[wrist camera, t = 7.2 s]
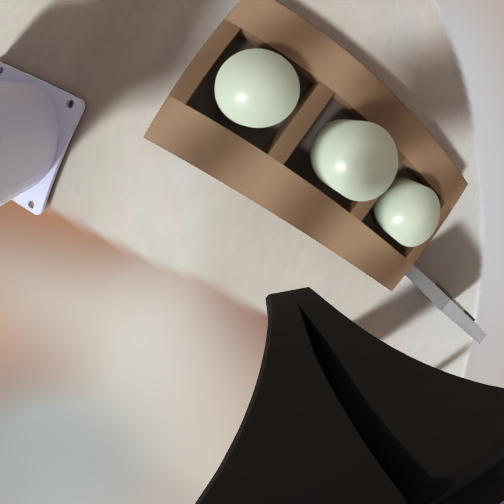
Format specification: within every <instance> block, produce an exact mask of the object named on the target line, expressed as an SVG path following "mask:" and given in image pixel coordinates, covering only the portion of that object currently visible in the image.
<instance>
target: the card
mask: <svg viewBox="0 0 504 504" xmlns="http://www.w3.org/2000/svg"><path fill="white" fill-rule="evenodd" d="M405 275H406V276H407V277H408V278H409V279H410V280H411V281H412V282H413V283H414V284H415V285H416V286H417V287H418V288H419V289H420V290H421V291H422V292H423V293H424V294H425V295H426V296H427V297H428V298H429V299H430V300H431V301H432V302H433V303H434V304H435V305H436V306H437V307H438V308H439V309H440V310H441V311H442V312H443V313H444V314H445V315H446V316H448V317H449V318H450V319H451V320H452V321H454V322H455V323H456V324H457V325H458V326H460V327H461V328H462V329H463V330H464V331H465V332H467V333H468V334H469V335H470V336H471V337H472V338H473V339H475V340H476V341H477V342H478V343H480V342H481V341H482V340H483V339H484V338H485V336H486V334H485V333H484V332H483V331H482V330H481V329H480V328H479V326H478V325H477V324H476V323H475V322H474V320H475V319H474V318H473V317H472V316H471V315H470V314H469V313H468V312H467V311H466V310H465V309H464V308H463V307H462V306H461V305H460V304H459V303H458V302H457V301H456V300H455V299H454V298H453V297H452V296H451V295H450V294H449V293H448V292H447V291H445V290H444V289H443V288H442V287H441V286H440V285H439V284H438V283H436V284H434V283H433V282H432V281H431V280H430V279H429V278H428V277H427V276H426V275H425V274H423V273H422V272H421V271H420V270H419V269H418V268H417V267H415V266H414V265H412V267H411V268H410V269H409V270H408V272H407V273H406V274H405Z"/></svg>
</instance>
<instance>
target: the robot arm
mask: <svg viewBox="0 0 504 504" xmlns="http://www.w3.org/2000/svg"><path fill="white" fill-rule="evenodd" d="M2 68H3V72H2V73H1V70H2ZM71 100H73V102H74V104H73V107H72V108H70V107H69V103H70V101H71ZM85 107H86V106H85V102H84V101H83V100H82V99H80V98H78V97H76V96H74V95H72V94H70V93H68V92H66V91H64V90H62V89H60V88H57V87H55V86H53V85H51V84H49V83H47V82H45V81H43V80H41V79H38V78H36V77H34V76H32V75H30V74H27V73H25V72H23V71H21V70H19V69H16V68H14V67H12V66H9V65H7V64H5V63H2V62H0V206H1V205H3V204H5V203H6V202H8V201H9V200H11V199H12V200H13V201H15V202H16V203H18V204H19V205H21V206H23V207H24V208H26V209H27V210H29V211H31V212H32V213H34V214H36V215H40V214H41V213H42V212H43V211H44V209H45V206H46V203H47V200H48V197H49V194H50V191H51V188H52V185H53V182H54V180H55V177H56V174H57V172H58V169H59V166H60V164H61V161H62V159H63V156H64V154H65V152H66V149H67V147H68V144H69V142H70V140H71V138H72V135H73V133H74V131H75V129H76V127H77V125H78V123H79V120H80V118H81V116H82V114H83V112H84V110H85ZM31 201H32V202H33V203H34V207H33V206H32V205H31ZM266 305H267V314H268V329H267V338H266V345H265V350H264V355H263V360H262V365H261V368H260V372H259V376H258V379H257V383H256V386H255V389H254V392H253V395H252V398H251V401H250V403H249V406H248V409H247V411H246V413H245V416H244V419H243V421H242V423H241V425H240V428H239V430H238V432H237V434H236V436H235V438H234V440H233V442H232V444H231V446H230V448H229V450H228V452H227V453H226V455H225V458H224V459H223V461H222V463H221V465H220V466H219V468H218V470H217V471H216V473H215V474H214V476H213V478H212V479H211V481H210V482H209V484H208V485H207V487H206V488H205V490H204V491H203V493H202V494H201V496H200V497H199V499H198V500H197V502H196V504H504V388H500V387H495V386H490V385H485V384H481V383H478V382H474V381H471V380H467V379H464V378H461V377H458V376H455V375H452V374H449V373H446V372H444V371H441V370H439V369H436V368H434V367H432V366H429V365H427V364H424V363H422V362H420V361H418V360H416V359H414V358H412V357H410V356H408V355H406V354H404V353H402V352H400V351H398V350H396V349H394V348H392V347H391V346H389V345H387V344H386V343H384V342H382V341H381V340H379V339H377V338H376V337H374V336H373V335H371V334H370V333H368V332H367V331H365V330H364V329H362V328H361V327H359V326H358V325H357V324H355V323H354V322H353V321H351V320H350V319H348V318H347V317H346V316H344V315H343V314H342V313H340V312H339V311H338V310H337V309H335V308H334V307H333V306H332V305H330V304H329V303H328V302H327V301H325V300H324V299H323V298H322V297H321V296H319V295H318V294H317V293H316V292H314V291H313V290H312V289H311V288H309V287H307V288H301V289H296V290H291V291H285V292H280V293H274V294H269V295H268V296H267V297H266Z"/></svg>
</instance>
